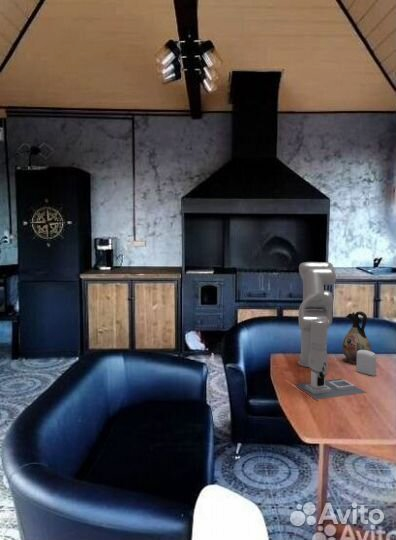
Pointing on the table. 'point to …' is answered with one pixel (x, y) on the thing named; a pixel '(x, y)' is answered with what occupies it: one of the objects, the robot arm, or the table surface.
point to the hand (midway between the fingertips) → (317, 383)
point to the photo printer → (366, 362)
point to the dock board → (331, 389)
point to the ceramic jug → (355, 337)
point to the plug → (314, 380)
